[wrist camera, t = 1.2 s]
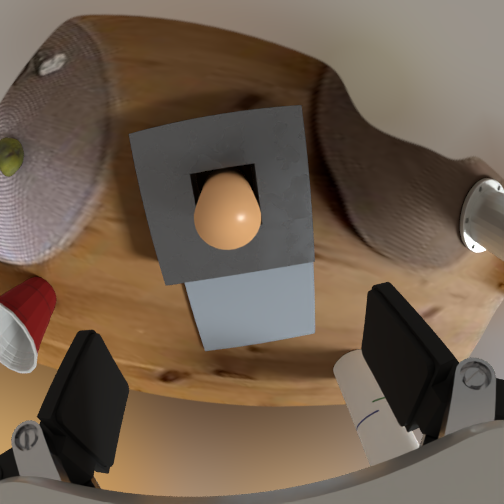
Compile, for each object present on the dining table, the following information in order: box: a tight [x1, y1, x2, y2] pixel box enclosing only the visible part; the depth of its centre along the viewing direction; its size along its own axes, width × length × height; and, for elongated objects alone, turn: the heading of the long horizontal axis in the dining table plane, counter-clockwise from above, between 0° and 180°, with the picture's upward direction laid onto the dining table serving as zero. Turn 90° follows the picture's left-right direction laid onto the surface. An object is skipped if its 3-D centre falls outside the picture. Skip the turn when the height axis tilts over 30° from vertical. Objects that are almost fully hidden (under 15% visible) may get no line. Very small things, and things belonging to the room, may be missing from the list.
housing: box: [129, 105, 315, 285], centre depth 29 cm, size 16×16×5 cm
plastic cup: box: [0, 277, 56, 373], centre depth 29 cm, size 11×11×12 cm
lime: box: [0, 138, 24, 177], centre depth 24 cm, size 4×5×5 cm
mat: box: [185, 262, 315, 351], centre depth 38 cm, size 16×12×1 cm
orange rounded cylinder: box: [194, 167, 261, 250], centre depth 27 cm, size 5×5×11 cm
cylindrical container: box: [333, 349, 419, 467], centre depth 34 cm, size 7×7×25 cm
